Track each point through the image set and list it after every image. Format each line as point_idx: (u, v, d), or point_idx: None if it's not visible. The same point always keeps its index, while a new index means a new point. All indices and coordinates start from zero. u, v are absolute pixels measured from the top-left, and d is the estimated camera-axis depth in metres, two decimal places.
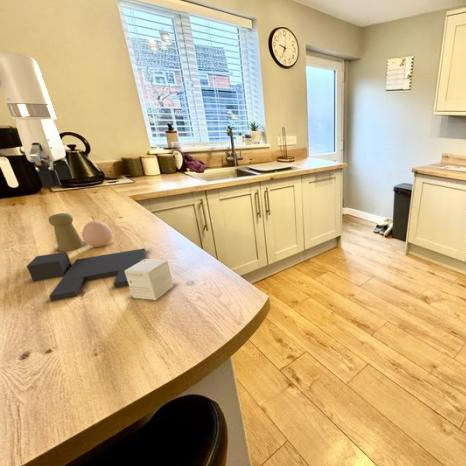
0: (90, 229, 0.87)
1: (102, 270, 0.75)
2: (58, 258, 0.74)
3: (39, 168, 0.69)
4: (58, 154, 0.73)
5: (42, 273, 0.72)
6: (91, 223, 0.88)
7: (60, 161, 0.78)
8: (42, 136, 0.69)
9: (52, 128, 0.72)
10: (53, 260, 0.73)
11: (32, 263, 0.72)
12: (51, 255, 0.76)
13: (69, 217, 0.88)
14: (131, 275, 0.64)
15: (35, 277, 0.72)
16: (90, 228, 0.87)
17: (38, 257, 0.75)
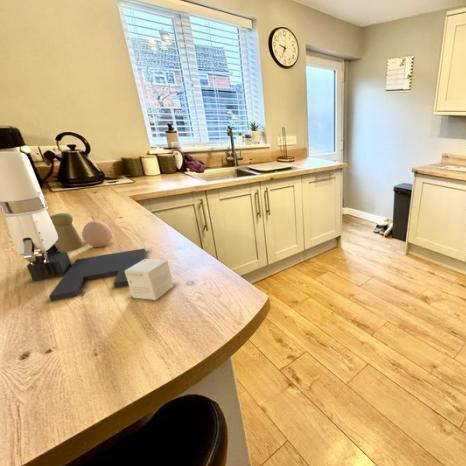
0: (90, 229, 0.87)
1: (102, 270, 0.75)
2: (58, 258, 0.74)
3: (34, 263, 0.69)
4: (50, 242, 0.72)
5: None
6: (91, 223, 0.88)
7: (52, 248, 0.77)
8: (33, 231, 0.68)
9: (44, 218, 0.71)
10: (53, 260, 0.73)
11: None
12: (51, 255, 0.76)
13: (69, 217, 0.88)
14: (131, 275, 0.64)
15: (35, 277, 0.72)
16: (90, 228, 0.87)
17: None
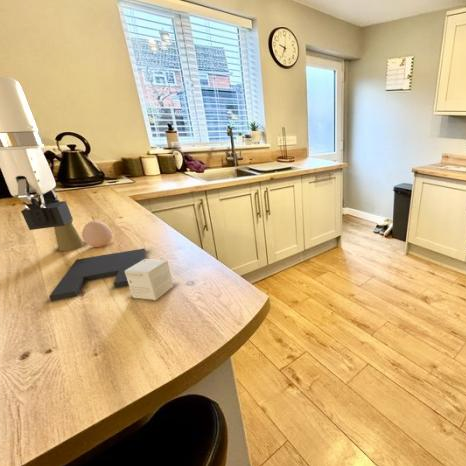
0: (90, 229, 0.87)
1: (102, 270, 0.75)
2: (57, 205, 0.67)
3: (30, 207, 0.62)
4: (47, 186, 0.65)
5: None
6: (91, 223, 0.88)
7: (49, 196, 0.69)
8: (28, 168, 0.60)
9: (39, 157, 0.63)
10: (51, 207, 0.65)
11: None
12: (49, 203, 0.68)
13: None
14: (131, 275, 0.64)
15: (31, 225, 0.64)
16: (90, 228, 0.87)
17: None
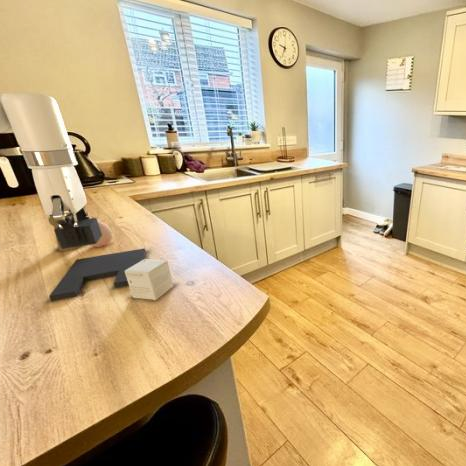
0: None
1: (102, 270, 0.75)
2: (88, 223, 0.65)
3: (63, 226, 0.60)
4: (80, 204, 0.63)
5: None
6: None
7: (80, 213, 0.68)
8: (62, 187, 0.59)
9: (73, 175, 0.62)
10: (84, 225, 0.64)
11: (59, 227, 0.63)
12: (80, 221, 0.67)
13: (69, 217, 0.88)
14: (131, 275, 0.64)
15: (63, 243, 0.63)
16: None
17: None
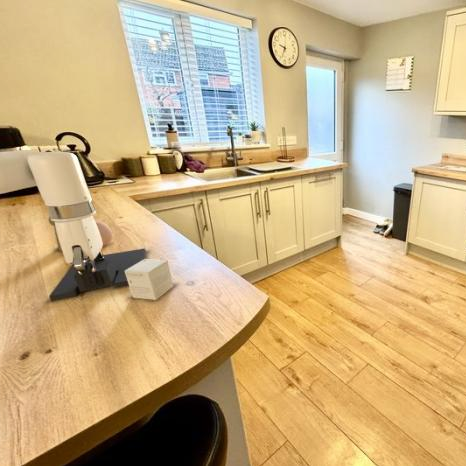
0: None
1: None
2: (105, 266, 0.69)
3: (82, 272, 0.64)
4: (97, 249, 0.67)
5: None
6: None
7: (96, 255, 0.72)
8: (82, 237, 0.63)
9: (91, 223, 0.66)
10: (101, 269, 0.68)
11: (78, 271, 0.67)
12: (97, 263, 0.71)
13: None
14: (131, 275, 0.64)
15: (82, 287, 0.67)
16: None
17: None
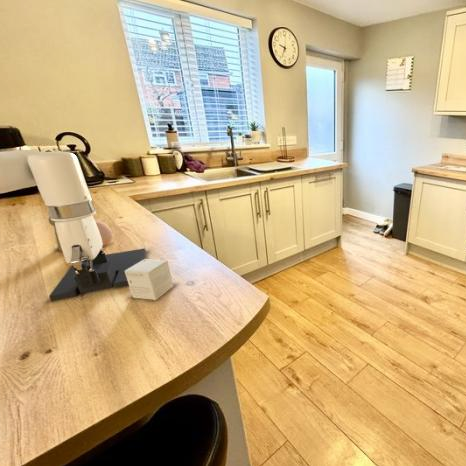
0: None
1: None
2: (105, 269, 0.70)
3: (79, 272, 0.63)
4: (97, 249, 0.67)
5: None
6: None
7: None
8: (82, 237, 0.63)
9: (91, 223, 0.66)
10: (101, 271, 0.68)
11: None
12: (97, 265, 0.71)
13: None
14: (131, 275, 0.64)
15: (82, 289, 0.67)
16: None
17: None
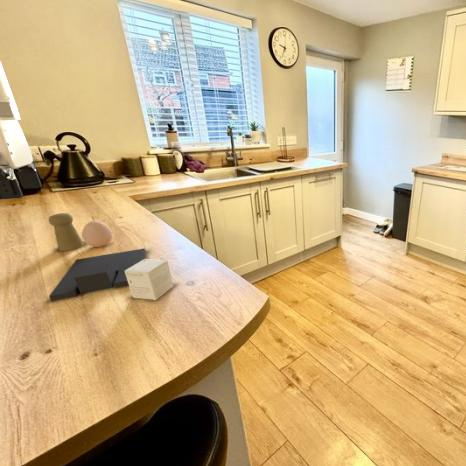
0: (90, 229, 0.87)
1: None
2: (105, 269, 0.70)
3: None
4: (21, 160, 0.63)
5: (90, 285, 0.68)
6: (91, 223, 0.88)
7: (26, 167, 0.68)
8: (0, 140, 0.58)
9: (15, 130, 0.62)
10: (101, 271, 0.68)
11: (79, 274, 0.67)
12: (97, 265, 0.71)
13: (69, 217, 0.88)
14: (131, 275, 0.64)
15: (82, 289, 0.67)
16: (90, 228, 0.87)
17: (84, 268, 0.70)
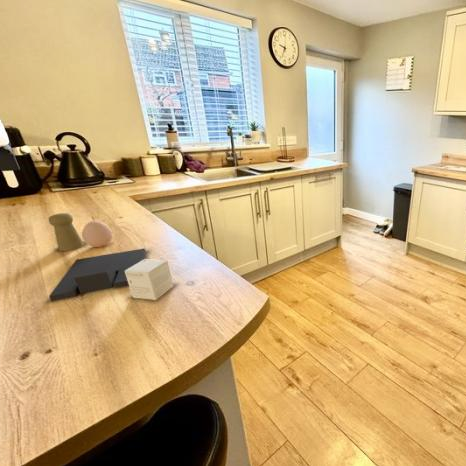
0: (90, 229, 0.87)
1: None
2: (105, 269, 0.70)
3: None
4: None
5: (90, 285, 0.68)
6: (91, 223, 0.88)
7: (3, 149, 0.68)
8: None
9: None
10: (101, 271, 0.68)
11: (79, 274, 0.67)
12: (97, 265, 0.71)
13: (69, 217, 0.88)
14: (131, 275, 0.64)
15: (82, 289, 0.67)
16: (90, 228, 0.87)
17: (84, 268, 0.70)
